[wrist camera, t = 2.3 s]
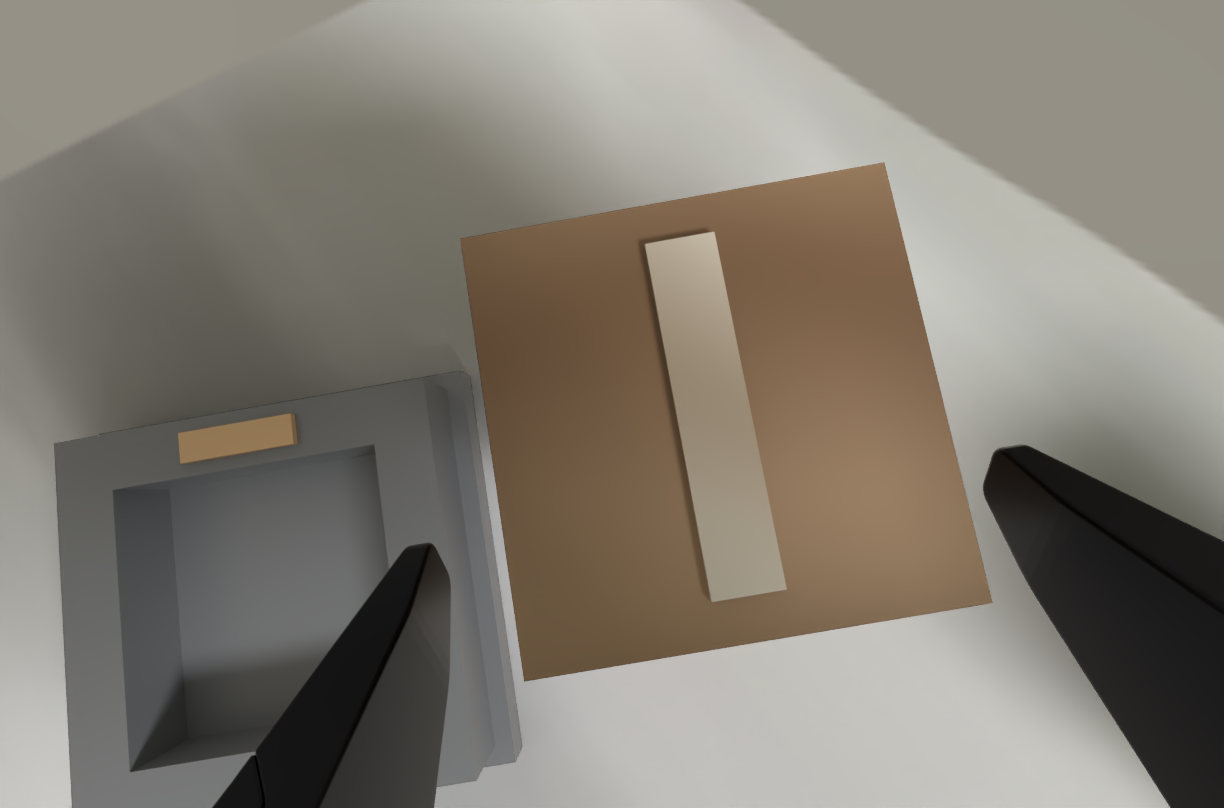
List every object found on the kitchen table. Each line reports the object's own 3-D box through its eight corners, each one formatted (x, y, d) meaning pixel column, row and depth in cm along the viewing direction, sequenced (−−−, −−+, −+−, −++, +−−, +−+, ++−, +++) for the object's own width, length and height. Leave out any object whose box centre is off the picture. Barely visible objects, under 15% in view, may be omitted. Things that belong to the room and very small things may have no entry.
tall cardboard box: (761, 525, 18) (997, 604, 6) (596, 554, 18) (522, 683, 6) (728, 363, 19) (888, 157, 7) (569, 391, 19) (457, 235, 7)
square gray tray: (522, 747, 18) (498, 803, 15) (150, 808, 18) (47, 878, 15) (469, 376, 19) (437, 354, 16) (126, 436, 19) (27, 427, 16)
